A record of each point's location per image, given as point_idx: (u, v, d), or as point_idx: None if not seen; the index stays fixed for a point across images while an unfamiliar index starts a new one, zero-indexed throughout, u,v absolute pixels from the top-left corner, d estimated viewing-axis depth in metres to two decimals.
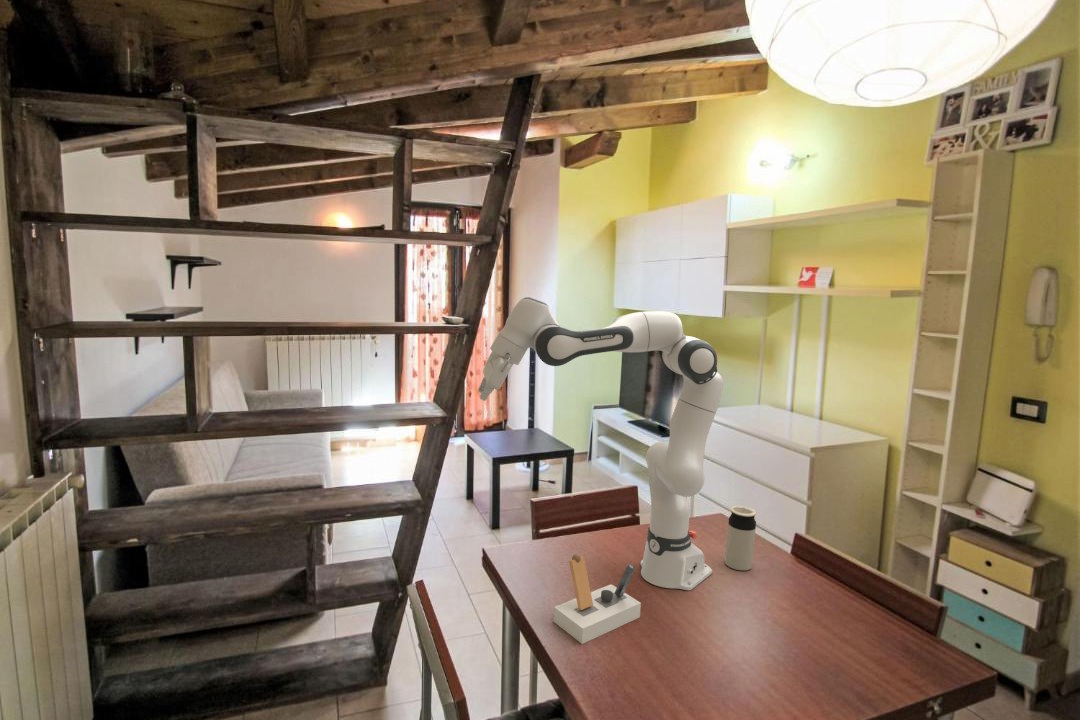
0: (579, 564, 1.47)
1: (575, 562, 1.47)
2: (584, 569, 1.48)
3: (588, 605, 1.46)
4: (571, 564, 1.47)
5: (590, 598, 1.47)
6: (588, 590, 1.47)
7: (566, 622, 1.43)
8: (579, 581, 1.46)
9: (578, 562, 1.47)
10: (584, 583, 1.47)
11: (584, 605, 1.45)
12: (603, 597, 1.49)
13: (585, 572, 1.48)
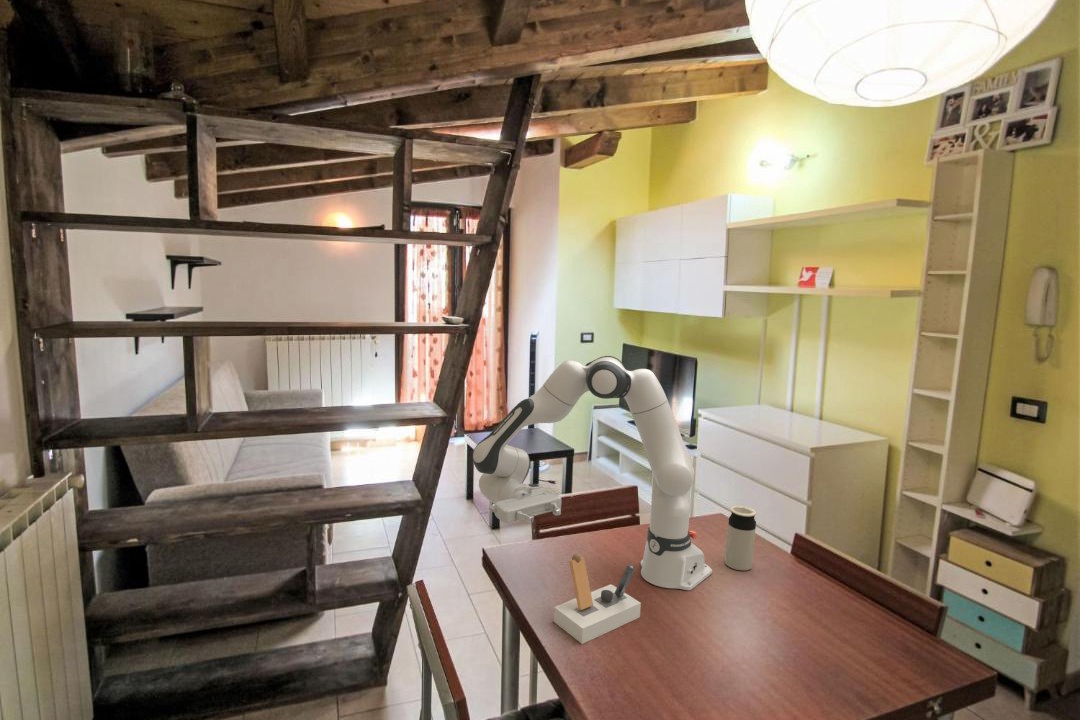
0: (579, 564, 1.47)
1: (575, 562, 1.47)
2: (584, 569, 1.48)
3: (588, 605, 1.46)
4: (571, 564, 1.47)
5: (590, 598, 1.47)
6: (588, 590, 1.47)
7: (566, 622, 1.43)
8: (579, 581, 1.46)
9: (578, 562, 1.47)
10: (584, 583, 1.47)
11: (584, 605, 1.45)
12: (603, 597, 1.49)
13: (585, 572, 1.48)
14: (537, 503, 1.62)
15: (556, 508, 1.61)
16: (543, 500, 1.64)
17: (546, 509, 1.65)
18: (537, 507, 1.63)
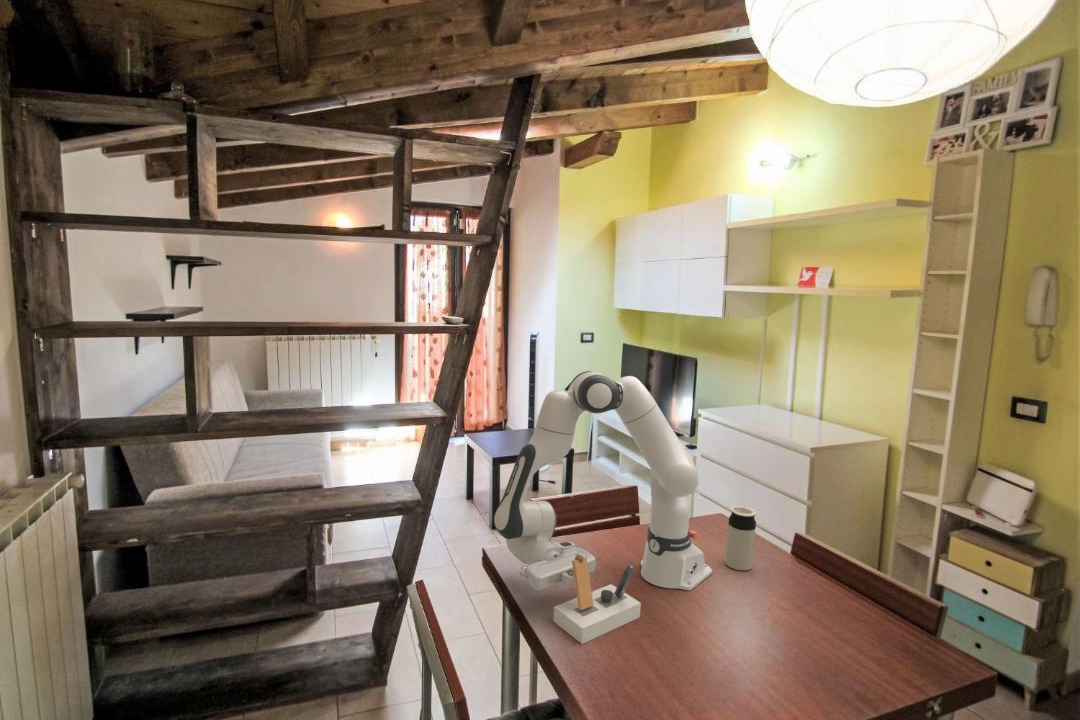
0: (582, 565, 1.47)
1: (577, 563, 1.46)
2: (586, 570, 1.47)
3: (588, 605, 1.46)
4: (574, 564, 1.46)
5: (591, 598, 1.47)
6: (589, 590, 1.47)
7: (566, 622, 1.43)
8: (581, 581, 1.46)
9: (581, 563, 1.47)
10: (586, 583, 1.47)
11: (585, 605, 1.45)
12: (603, 597, 1.49)
13: (587, 573, 1.47)
14: (571, 566, 1.52)
15: None
16: None
17: None
18: None
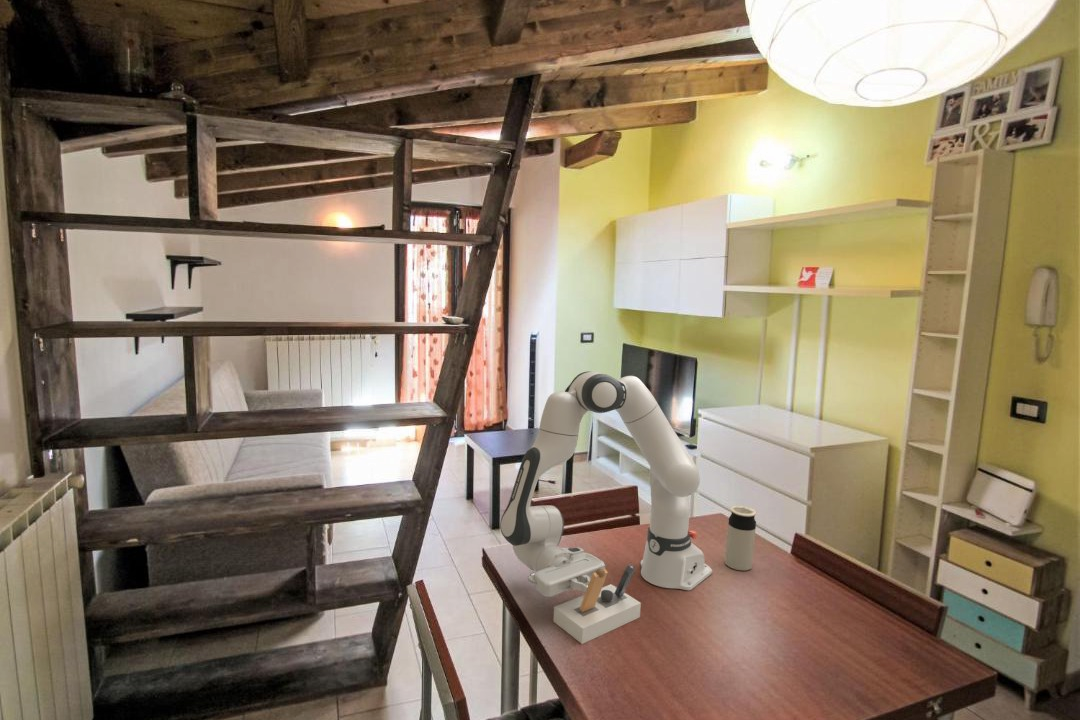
0: (600, 578, 1.41)
1: (597, 577, 1.40)
2: (602, 582, 1.43)
3: (590, 608, 1.46)
4: (593, 578, 1.40)
5: (594, 603, 1.46)
6: (596, 597, 1.45)
7: (566, 622, 1.43)
8: (593, 591, 1.42)
9: (600, 577, 1.41)
10: (596, 592, 1.44)
11: (587, 608, 1.45)
12: (603, 597, 1.49)
13: (602, 584, 1.43)
14: (580, 573, 1.49)
15: None
16: (586, 569, 1.50)
17: (589, 578, 1.51)
18: None
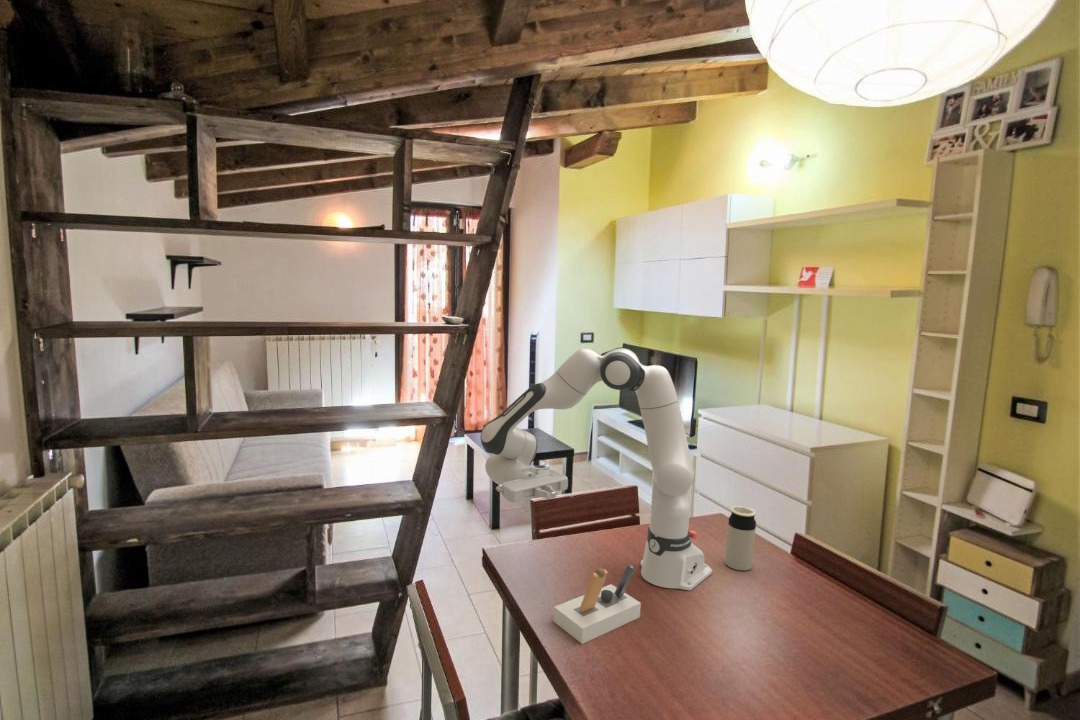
0: (600, 578, 1.41)
1: (597, 577, 1.40)
2: (602, 582, 1.43)
3: (590, 608, 1.46)
4: (593, 578, 1.40)
5: (594, 603, 1.46)
6: (596, 597, 1.45)
7: (566, 622, 1.43)
8: (593, 591, 1.42)
9: (600, 577, 1.41)
10: (596, 592, 1.44)
11: (587, 608, 1.45)
12: (603, 597, 1.49)
13: (602, 584, 1.43)
14: (544, 483, 1.62)
15: (551, 490, 1.59)
16: (550, 481, 1.64)
17: (553, 489, 1.65)
18: None
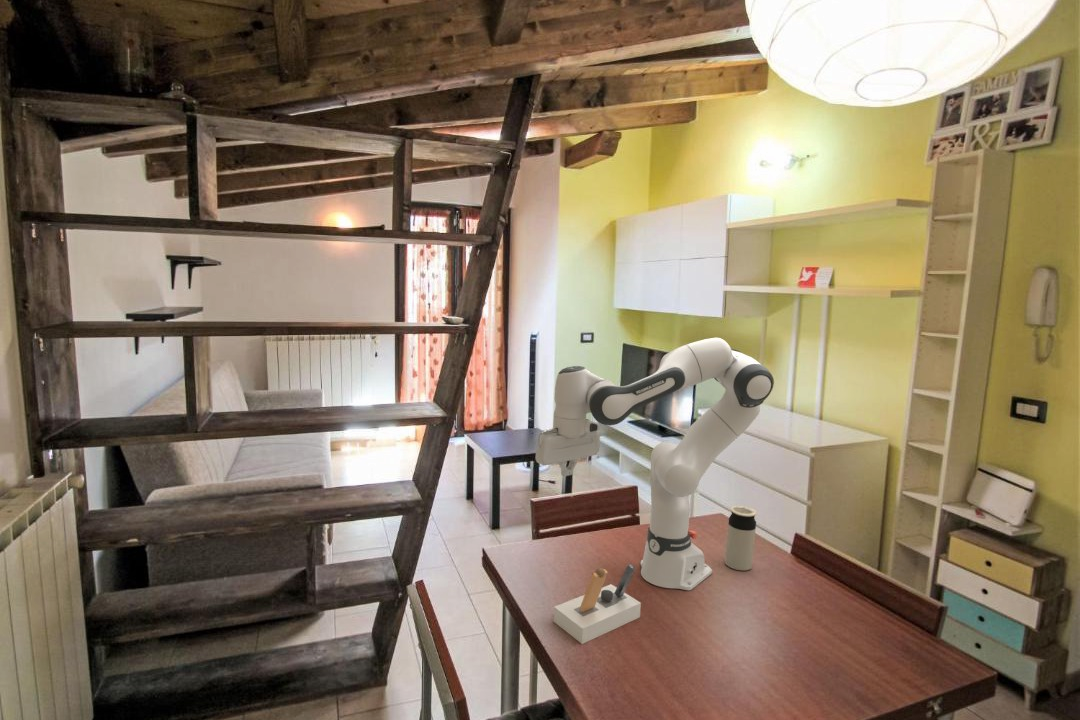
0: (600, 578, 1.41)
1: (597, 577, 1.40)
2: (602, 582, 1.43)
3: (590, 608, 1.46)
4: (593, 578, 1.40)
5: (594, 603, 1.46)
6: (596, 597, 1.45)
7: (566, 622, 1.43)
8: (593, 591, 1.42)
9: (600, 577, 1.41)
10: (596, 592, 1.44)
11: (587, 608, 1.45)
12: (603, 597, 1.49)
13: (602, 584, 1.43)
14: (574, 458, 1.57)
15: (571, 471, 1.58)
16: (581, 455, 1.59)
17: None
18: None
